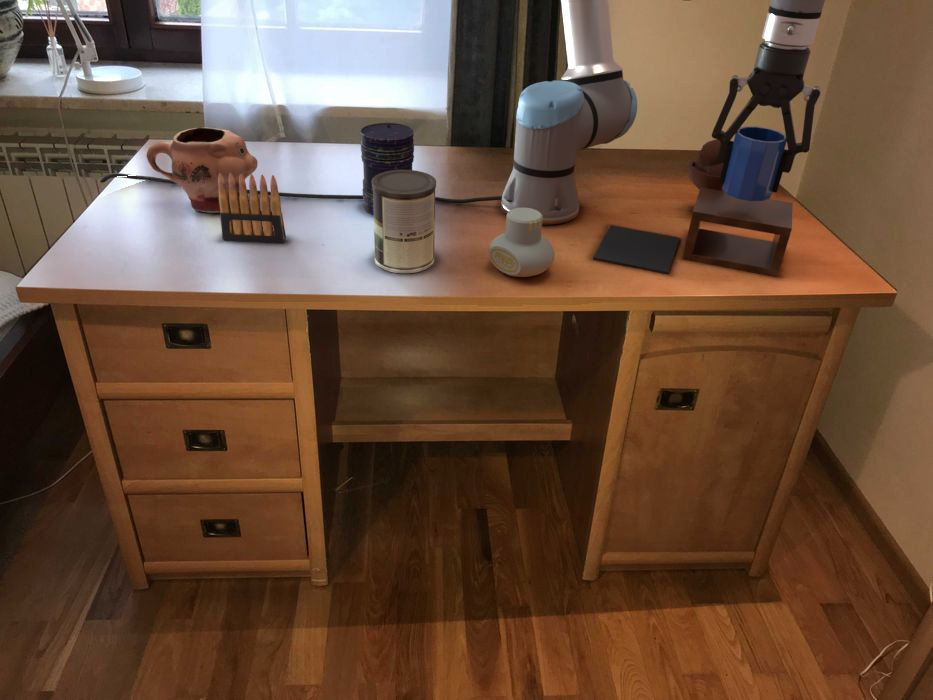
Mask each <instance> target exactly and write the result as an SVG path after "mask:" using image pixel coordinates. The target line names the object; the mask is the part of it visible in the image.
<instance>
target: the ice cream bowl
mask: <svg viewBox="0 0 933 700" xmlns="http://www.w3.org/2000/svg"><path fill="white" fill-rule="evenodd" d="M720 146H721V142H720V141H719V140H718V139H712V140H710V141H707V142H705V143H704V144H703V145H702V147H701V149H700V150H699V151H698V153H697V154H696V156H695V158H693V159H692V160H690V162H688V164H687V175H688V178H689V180H690V181H691V182H692V184H693V185H694V186H695V187H696V188H697V190H700V188H707V189H713V190H719V191H723V190H722V186H723V183H719V180H720V175H721V171H722V167H723V163H724V162H718V159H717V158H718V154H719V150H720Z"/></svg>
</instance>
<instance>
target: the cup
mask: <svg viewBox="0 0 933 700" xmlns="http://www.w3.org/2000/svg"><path fill="white" fill-rule="evenodd" d="M733 141H734V142H733V147H732V151H731V155H730V159H729V162H728V166H727V170H726V174H725V178H724V182H723V186H722V190H723V191H724V192H725V193H726V194H727V195H729V196H732V197H735V198H737V199H742V200H747V201H764V200H767V199H771V197H772V193H773V192H772V190H773V186H774V183H775V180H776V176H777V173H778V169H779V166H780V162H781V159H782V155H783V152H784V149H786V145H787V139H786V134H784V133H783V132H781V131H779V130H776V129H773V128H769V127H762V126H756V125H755V126H752V125H751V126H747V125H746V126H741V127H740V128H739V130H738V131H737V132H736V134H735V135H734V137H733Z"/></svg>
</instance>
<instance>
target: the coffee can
mask: <svg viewBox="0 0 933 700" xmlns="http://www.w3.org/2000/svg"><path fill="white" fill-rule="evenodd" d="M372 187H373V212H374V215H373V235H374V236H373V237H374V238H373V239H374V240H373V241H374V263H375V265H376V266H377V267H378V268H380V269H382V270H384V271H386V272H390V273H395V274H415V273H419V272H423V271H425V270H427V269H429V268H430V267H432V266H433V265H434V263H435V260H436V259H435V237H436V236H435V234H436V233H435V229H436V228H435V226H436V201H435V197H436V188H437V180H436V178H435V177H434V176H433V175H432V174H429V173H426V172H424V171H420V170H415V169H412V170H391V171H386V172H383V173H380V174H378V175H376V176H375V177H374V178H373V179H372Z"/></svg>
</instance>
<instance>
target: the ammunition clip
mask: <svg viewBox="0 0 933 700" xmlns="http://www.w3.org/2000/svg"><path fill="white" fill-rule="evenodd" d="M248 179H249V181H248V187H247V183H246V179H244V177H243V175H242V174H240V176H239V194H240V195H239V197H238V194H237V189H236V184H235V180H234V177H233V175H232V174H231V173H230V174H229V180H228V184H229V197H228V194H227V190H226V185H225V181H224V178H223V176H222V174H221V173H219V176H218V187H219V203H220V210H221V212H219V217H220V226H221V227H220V228H221V235H222V240H223V241H225V242H226V241H227V242H248V243H268V244H269V243H270V244H271V243H273V244H285V241H286V240H287V235H286V229H285V222H284V216H283V211H282V204H281V203H282V202H281V196H279V193H278V192H279V186H278V182H277V179H276V177H275V175H274V174H272V175H271V178H270V184H269V185H270V192H271V196H269V195H268V190H269V189H268V184H267V181H266V178H265V176H264V174H261V175H260V179H259V191H260V195H258V192H257V190H258V187H257V182H256V180H255V176H254V174H253V173H252V174H250V175H249V178H248ZM248 188H249V189H248ZM247 189H248V190H250V194H248V193H247ZM239 201H240V202H239ZM229 202H230V203H229Z"/></svg>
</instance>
